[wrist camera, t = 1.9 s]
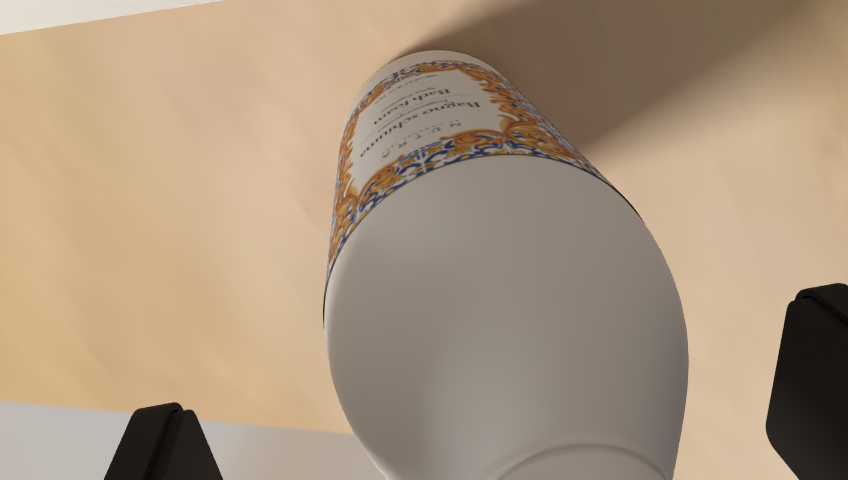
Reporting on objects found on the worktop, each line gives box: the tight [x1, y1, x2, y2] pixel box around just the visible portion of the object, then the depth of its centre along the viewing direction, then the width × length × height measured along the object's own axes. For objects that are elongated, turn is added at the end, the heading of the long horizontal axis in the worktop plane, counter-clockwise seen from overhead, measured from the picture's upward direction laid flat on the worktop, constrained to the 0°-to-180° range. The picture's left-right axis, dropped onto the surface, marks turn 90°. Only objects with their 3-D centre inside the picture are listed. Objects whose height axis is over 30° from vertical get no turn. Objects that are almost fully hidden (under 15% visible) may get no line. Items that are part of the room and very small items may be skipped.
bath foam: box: [323, 50, 689, 480], centre depth 14 cm, size 7×7×20 cm
